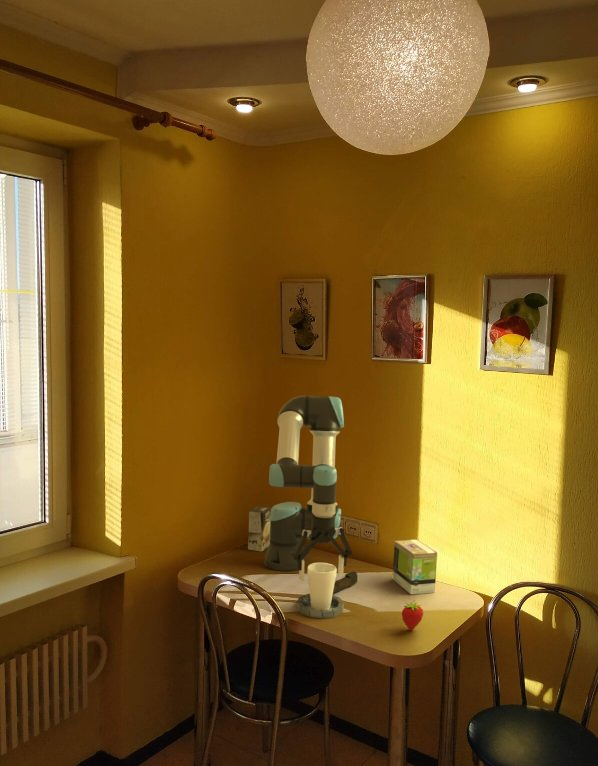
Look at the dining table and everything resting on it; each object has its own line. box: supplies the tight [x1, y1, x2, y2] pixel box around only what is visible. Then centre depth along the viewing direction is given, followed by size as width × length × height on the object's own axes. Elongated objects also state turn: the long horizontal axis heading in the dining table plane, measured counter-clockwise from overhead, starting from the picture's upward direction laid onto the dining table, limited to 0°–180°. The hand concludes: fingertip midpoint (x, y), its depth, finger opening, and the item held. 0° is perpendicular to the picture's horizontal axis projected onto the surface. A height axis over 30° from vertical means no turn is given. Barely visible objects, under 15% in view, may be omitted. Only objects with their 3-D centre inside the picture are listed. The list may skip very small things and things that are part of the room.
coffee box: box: [247, 505, 272, 552], centre depth 285 cm, size 9×6×16 cm
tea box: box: [392, 539, 438, 595], centre depth 250 cm, size 15×10×15 cm, turn 18°
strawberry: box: [401, 600, 424, 632], centre depth 214 cm, size 6×8×10 cm
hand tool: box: [333, 571, 358, 594], centre depth 245 cm, size 19×4×5 cm, turn 137°
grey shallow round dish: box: [296, 593, 345, 620], centre depth 229 cm, size 15×15×2 cm
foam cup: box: [306, 562, 338, 610], centre depth 228 cm, size 10×9×13 cm
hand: (321, 577), depth 228 cm, fingers open, 13 cm apart
